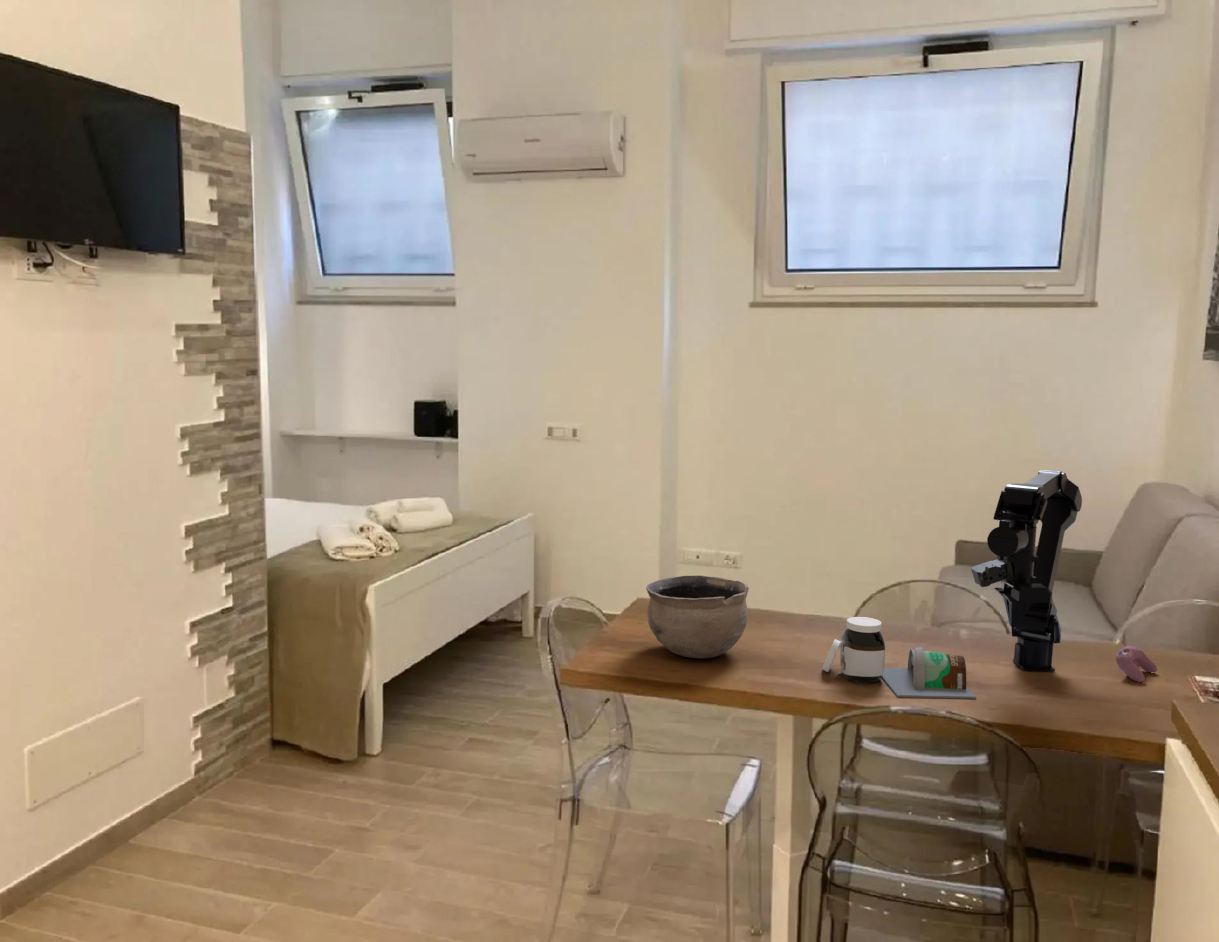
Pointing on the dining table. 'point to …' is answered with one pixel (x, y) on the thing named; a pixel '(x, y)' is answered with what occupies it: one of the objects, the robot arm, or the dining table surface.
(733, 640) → the ceramic bowl
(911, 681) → the mat
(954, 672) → the food container
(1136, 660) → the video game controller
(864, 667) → the spread jar
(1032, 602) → the robot arm
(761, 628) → the dining table surface
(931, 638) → the dining table surface
